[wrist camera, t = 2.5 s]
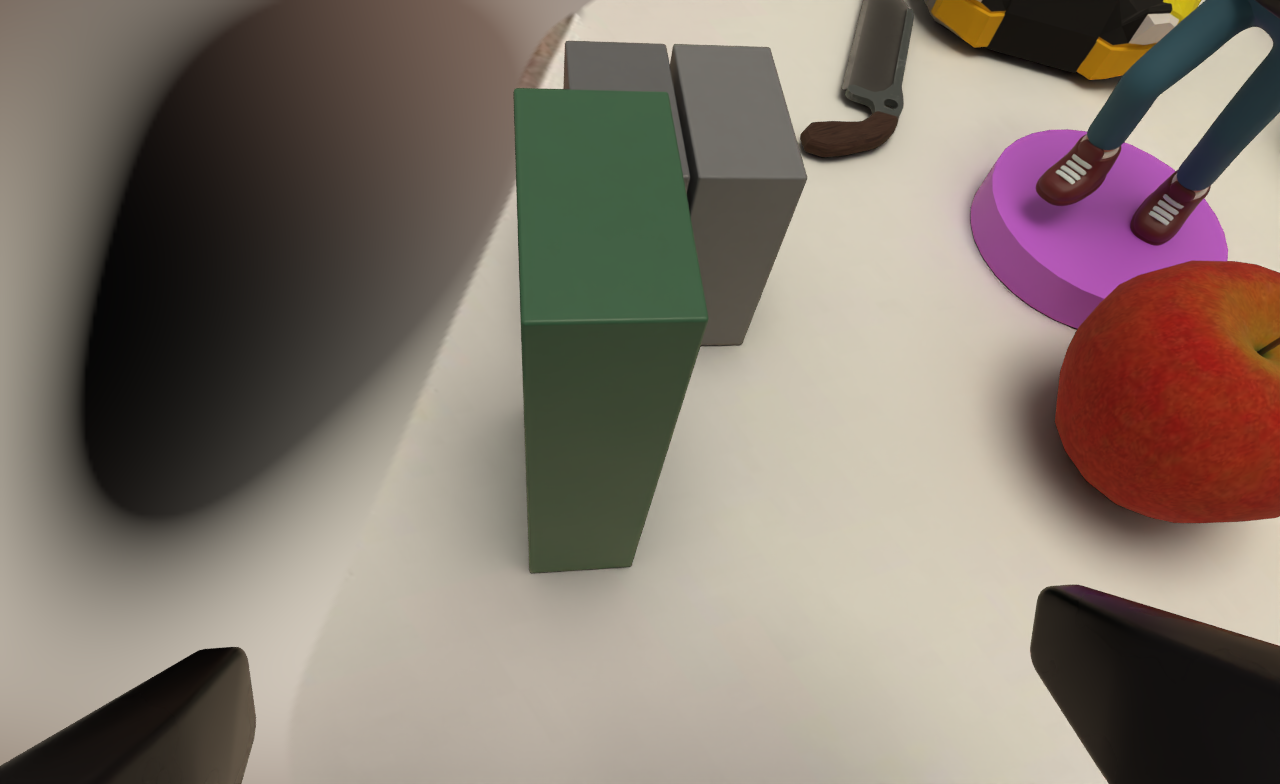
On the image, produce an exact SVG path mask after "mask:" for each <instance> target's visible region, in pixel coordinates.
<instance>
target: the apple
mask: <svg viewBox="0 0 1280 784" xmlns="http://www.w3.org/2000/svg"><path fill="white" fill-rule="evenodd" d="M1055 424H1056V427H1057V430H1058V432H1059V435H1060V438H1061V441H1062V443H1063V446H1064V449H1065V451H1066V453H1067V454H1068V456H1069V457H1070V459H1071V460H1072V461H1073V463H1074V464H1075V466H1076V467H1077V469H1078V470H1079V471H1080V473H1081V474H1082V476H1083V477H1084V478H1085V480H1086V481H1087V482H1088V483H1090V484H1091V485H1092V486H1094V487H1095V488H1096V489H1097V490H1099V491H1100V492H1101V493H1102V494H1104V495H1105V496H1106V497H1107V498H1109V499H1110V500H1111V501H1113V502H1114V503H1115V504H1117V505H1119V506H1122V507H1124V508H1127V509H1129V510H1132V511H1134V512H1137V513H1140V514H1142V515H1145V516H1147V517H1150V518H1155V519H1159V520H1164V521H1168V522H1173V523H1214V522H1240V521H1251V520H1260V519H1269V518H1276V517H1279V516H1280V273H1279V272H1276V271H1273V270H1270V269H1267V268H1264V267H1262V266H1259V265H1255V264H1248V263H1242V262H1235V261H1195V260H1192V261H1188V262H1185V263H1181V264H1177V265H1174V266H1170V267H1166V268H1163V269H1159V270H1155V271H1152V272H1148V273H1145V274H1141V275H1138V276H1136V277H1134V278H1132V279H1130V280H1128V281H1126V282H1124V283H1121V284H1119V285H1118V286H1117V287H1116V288H1115V289H1114V290H1113V291H1112V292H1111V293H1110V294H1109V295H1108V296H1107V297H1106V298H1105V299H1104V300H1103V301H1102V302H1101V303H1100V304H1099V305H1098V306H1097V307H1096V308H1095V309H1094V310H1093V312H1092V313H1091V314H1090V315H1089V316H1088V317H1087V318H1086V320H1085V321H1084V322H1083V323H1082V324H1081V325H1080V326H1079V327H1078V329H1077V331H1076V333H1075V335H1074V337H1073V339H1072V341H1071V343H1070V345H1069V347H1068V349H1067V352H1066V355H1065V358H1064V361H1063V364H1062V367H1061V371H1060V377H1059V386H1058V395H1057V405H1056V415H1055Z"/></svg>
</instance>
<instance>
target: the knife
mask: <svg viewBox="0 0 1280 784" xmlns="http://www.w3.org/2000/svg"><path fill="white" fill-rule="evenodd" d="M913 20H914V12H913V10H912V9H909V8H908V5H907V4H906V3H905V2H904V1H903V0H863V4H862V8H861V12H860V16H859V20H858V24H857V28H856V33H855V37H854V41H853V45H852V49H851V53H850V57H849V61H848V65H847V69H846V73H845V78H844V82H843V86H842V89H843V90H845V91H846V93H845V96H846V97H847V98H848V99H849V100H851V101H854V102H858V103H861V104H864V105H866V106H868V107H869V108H871V111H872V115H871V116H870V117H869V118H867V119H865V120H864V121H860V122H840V121H827V122H813V123H811V124H810V125H809V126H808V127H807V128H806V129H805V130H804V131H803V132H802V134H801V136H800V140H801V142H802V145H803V148H804V151H806V152H808V153H811V154H814V155H818V156H821V157H831V156H843V155H848V154H853V153H858V152H862V151H867V150H871V149H875V148H877V147H878V146H880V145H881V144H883V143H884V142H886V141H887V140H888V138H889V137H890V136H891V135H892V134H893V133H894V131H895V128H896V126H897V123H898V118H899V116H900V114H901V111H902V109H903V93H902V81H903V76H904V70H905V64H906V59H907V53H908V48H909V42H910V37H911V31H912V26H913ZM885 105H888V106H891V107H893V108H894V109H891V108H888V107H886V106H885Z"/></svg>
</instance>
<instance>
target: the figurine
mask: <svg viewBox="0 0 1280 784" xmlns="http://www.w3.org/2000/svg"><path fill="white" fill-rule="evenodd" d="M1250 27H1260V28H1262V29H1263V30H1264V31H1266V32H1267V33H1268V34H1269V35H1270V37H1271V38H1272V40H1273V47H1272V50H1271V51H1270V53H1269V54H1268V55H1267V57H1266V58H1265V59H1264V60H1263V62H1262V63H1261V64H1260V65H1259V66H1258V68H1257V69H1256V70H1255V71H1254V72H1253V74H1252V75H1251V76H1250V77H1249V78H1248V80H1247V81H1246V82H1245V83H1244V85H1243V86H1242V87H1241V88H1240V90H1239V91H1238V92H1237V93H1236V95H1235V96H1234V97H1233V98H1232V100H1231V101H1230V102H1229V103H1228V105H1227V106H1226V107H1225V109H1224V110H1223V111H1222V112H1221V114H1220V115H1219V116H1218V118H1217V119H1216V120H1215V121H1214V123H1213V124H1212V125H1211V127H1210V128H1209V129H1208V131H1207V132H1206V134H1205V135H1204V136H1203V138H1202V139H1201V140H1200V142H1199V143H1198V144H1197V145H1196V147H1195V148H1194V149H1193V150H1192V152H1191V153H1190V154H1189V156H1188V157H1187V158H1186V159H1185V161H1184V162H1183V163H1182V164H1181V166H1180V167H1179V169H1178V170H1177V171H1175V170H1174V169H1172V168H1171V167H1169V166H1168V165H1166V164H1165V163H1163V162H1162V161H1160V160H1159V159H1157V158H1155V157H1154V156H1152V155H1150V154H1148V153H1146V152H1144V151H1142V150H1140V149H1138V148H1137V147H1135V146H1133V145H1130V144H1127V143H1125V140H1126V139H1127V138H1128V137H1129V135H1130V134H1131V133H1132V131H1133V130H1134V129H1135V127H1136V126H1137V125H1138V123H1139V122H1140V121H1141V119H1142V118H1143V116H1144V115H1145V114H1146V112H1147V111H1148V110H1149V108H1150V107H1151V105H1152V104H1153V103H1154V101H1155V100H1156V98H1157V97H1158V96H1159V95H1160V94H1162V93H1163V92H1164V91H1166V90H1167V89H1168V88H1169V87H1171V86H1172V85H1173V84H1175V83H1176V82H1177V81H1179V80H1180V79H1181V78H1183V77H1184V76H1185V75H1187V74H1188V73H1189V72H1190V71H1192V70H1193V69H1194V68H1196V67H1197V66H1198V65H1199V64H1201V63H1202V62H1203V61H1204V60H1206V59H1207V58H1208V57H1209V56H1211V55H1212V54H1213V53H1214V52H1215V51H1217V50H1218V49H1219V48H1220V47H1221V46H1223V45H1224V44H1225V43H1226V42H1227V41H1229V40H1230V39H1231V38H1232V37H1234V36H1235V35H1236V34H1238V33H1239V32H1241V31H1243V30H1245V29H1247V28H1250ZM1279 112H1280V0H1206V1H1205V2H1203V3H1202V4H1201V5H1200V6H1199V7H1197V8H1196V9H1195V10H1194V11H1193V12H1191V13H1190V14H1189V15H1188V16H1187V17H1186V18H1184V19H1183V20H1182V21H1181V22H1180V23H1179V24H1178V25H1176V26H1175V27H1174V28H1173V29H1172V30H1171V31H1170V32H1169V33H1167V34H1166V35H1165V36H1164V37H1163V38H1162V39H1161V40H1160V41H1159V42H1158V43H1156V44H1155V45H1154V46H1153V47H1152V48H1151V49H1150V50H1149V51H1147V52H1146V53H1145V54H1144V55H1143V56H1142V57H1141V58H1140V59H1139V60H1138V61H1137V62H1135V63H1134V64H1133V65H1132V66H1131V67H1130V68H1129V69H1128V70H1127V72H1126V73H1125V74H1124V75H1123V76H1122V78H1121V79H1120V81H1119V82H1118V84H1117V85H1116V87H1115V89H1114V90H1113V92H1112V93H1111V95H1110V97H1109V98H1108V100H1107V102H1106V103H1105V105H1104V106H1103V108H1102V109H1101V111H1100V112H1099V114H1098V115H1097V116H1096V118H1095V119H1094V121H1093V122H1092V124H1091V125H1090V127H1089V129H1088V132H1085V131H1077V130H1047V131H1042V132H1037V133H1032V134H1030V135H1027V136H1025V137H1023V138H1020V139H1018V140H1016V141H1015V142H1014V143H1012V144H1011V145H1010V146H1009V147H1007V148H1006V149H1005V150H1004V152H1003V153H1002V154H1001V156H1000V157H999V159H998V160H997V162H996V163H995V165H994V166H993V168H992V169H991V171H990V172H989V174H988V175H987V177H986V178H985V180H984V181H983V183H982V184H981V186H980V187H979V189H978V191H977V192H976V194H975V196H974V200H973V203H972V206H971V227H972V231H973V235H974V239H975V242H976V244H977V246H978V248H979V250H980V252H981V254H982V256H983V258H984V260H985V261H986V262H987V264H988V265H989V267H990V268H991V269H992V271H993V272H994V274H995V275H996V276H997V277H998V278H999V279H1000V280H1001V281H1002V282H1003V283H1004V284H1005V285H1006V286H1007V287H1008V288H1009V289H1010V290H1011V291H1012V292H1013V293H1014V294H1016V295H1017V296H1018V297H1020V298H1021V299H1022V300H1023V301H1025V302H1026V303H1027V304H1029V305H1030V306H1031V307H1033V308H1035V309H1036V310H1038V311H1040V312H1042V313H1043V314H1045V315H1047V316H1049V317H1050V318H1052V319H1054V320H1056V321H1059V322H1061V323H1064V324H1066V325H1069V326H1071V327H1074V328H1076V329H1078V327H1079V326H1080V325H1081V324H1082V323H1083V322H1084V321H1085V320H1086V318H1087V317H1088V316H1089V315H1090V314H1091V313H1092V312H1093V310H1094V309H1095V308H1096V307H1097V306H1098V305H1099V304H1100V303H1101V302H1102V301H1103V300H1104V299H1105V298H1106V297H1107V296H1108V295H1109V294H1110V293H1111V292H1112V291H1113V290H1114V289H1115V288H1116V287H1117V286H1118V285H1119V284H1121V283H1124V282H1126V281H1128V280H1130V279H1132V278H1134V277H1136V276H1138V275H1141V274H1145V273H1148V272H1152V271H1155V270H1159V269H1163V268H1166V267H1170V266H1174V265H1177V264H1181V263H1185V262H1188V261H1192V260H1195V261H1227V258H1228V248H1227V243H1226V239H1225V234H1224V231H1223V229H1222V227H1221V225H1220V223H1219V221H1218V218H1217V216H1216V215H1215V213H1214V212H1213V210H1212V209H1211V207H1210V206H1209V205H1208V203H1207V202H1206V200H1205V199H1204V198H1205V197H1206V195H1207V194H1208V192H1209V190H1210V186H1211V185H1212V184H1213V183H1214V182H1215V180H1216V179H1217V178H1218V177H1219V176H1220V175H1221V174H1222V173H1223V171H1224V170H1225V169H1226V168H1227V167H1228V166H1229V165H1230V163H1231V162H1232V161H1233V160H1234V159H1235V158H1236V157H1237V156H1238V155H1239V153H1240V152H1241V151H1242V150H1243V149H1244V148H1245V147H1246V146H1247V145H1248V144H1249V143H1250V142H1251V141H1252V140H1253V139H1254V138H1255V137H1256V136H1257V135H1258V134H1259V133H1260V132H1261V131H1262V130H1263V129H1264V128H1265V127H1266V125H1267V124H1268V123H1269V122H1270V121H1271V120H1272V119H1273V118H1274V117H1275V116H1276V115H1277V114H1278V113H1279Z"/></svg>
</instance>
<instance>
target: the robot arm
mask: <svg viewBox="0 0 1280 784" xmlns="http://www.w3.org/2000/svg"><path fill="white" fill-rule="evenodd" d="M1030 652H1031V659H1032V663H1033V665H1034V668H1035V670H1036V672H1037V673H1038V675H1039V676H1040V678H1041V679H1042V681H1043V683H1044V684H1045V686H1046V687H1047V689H1048V690H1049V692H1050V693H1051V695H1052V697H1053V698H1054V700H1055V701H1056V703H1057V704H1058V706H1059V708H1060V709H1061V711H1062V712H1063V714H1064V715H1065V717H1066V718H1067V720H1068V722H1069V723H1070V725H1071V726H1072V728H1073V729H1074V731H1075V733H1076V734H1077V736H1078V737H1079V739H1080V740H1081V742H1082V743H1083V745H1084V747H1085V748H1086V750H1087V751H1088V753H1089V754H1090V756H1091V758H1092V759H1093V761H1094V762H1095V764H1096V765H1097V767H1098V768H1099V770H1100V771H1101V773H1102V774H1103V776H1104V777H1105V779H1106V780H1107V782H1108V783H1109V784H1280V646H1278V645H1275V644H1271V643H1268V642H1265V641H1261V640H1258V639H1255V638H1252V637H1248V636H1245V635H1242V634H1239V633H1235V632H1232V631H1229V630H1225V629H1222V628H1219V627H1216V626H1212V625H1209V624H1206V623H1202V622H1199V621H1196V620H1193V619H1189V618H1186V617H1183V616H1180V615H1176V614H1173V613H1170V612H1166V611H1163V610H1160V609H1157V608H1153V607H1150V606H1147V605H1143V604H1140V603H1137V602H1134V601H1130V600H1127V599H1124V598H1121V597H1117V596H1114V595H1111V594H1107V593H1104V592H1101V591H1098V590H1094V589H1091V588H1088V587H1084V586H1081V585H1060V586H1050V587H1046V588H1045V589H1043V590H1042V591H1041V593H1040V594H1039V596H1038V600H1037V605H1036V612H1035V619H1034V625H1033V632H1032V639H1031V646H1030ZM255 728H256V715H255V707H254V700H253V693H252V685H251V678H250V671H249V664H248V658H247V656H246V654H245V652H244V651H243V650H242V649H241V648H239V647H226V648H213V649H203V650H199V651H197V652H195V653H193V654H192V655H190V656H188V657H187V658H185V659H183V660H181V661H180V662H178V663H176V664H175V665H173V666H171V667H169V668H168V669H166V670H164V671H163V672H161V673H159V674H157V675H156V676H154V677H152V678H150V679H149V680H147V681H145V682H144V683H142V684H140V685H139V686H137V687H135V688H133V689H132V690H130V691H128V692H126V693H125V694H123V695H121V696H120V697H118V698H116V699H114V700H113V701H111V702H109V703H108V704H106V705H104V706H102V707H101V708H99V709H97V710H95V711H94V712H92V713H90V714H89V715H87V716H85V717H83V718H82V719H80V720H78V721H77V722H75V723H73V724H71V725H70V726H68V727H66V728H65V729H63V730H61V731H60V732H58V733H56V734H54V735H52V736H51V737H49V738H47V739H46V740H44V741H42V742H41V743H39V744H37V745H35V746H34V747H32V748H30V749H28V750H27V751H25V752H23V753H22V754H20V755H18V756H16V757H15V758H13V759H11V760H10V761H8V762H6V763H4V764H3V765H1V766H0V784H241V783H242V780H243V776H244V772H245V769H246V765H247V762H248V758H249V755H250V751H251V748H252V744H253V741H254V735H255Z"/></svg>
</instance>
